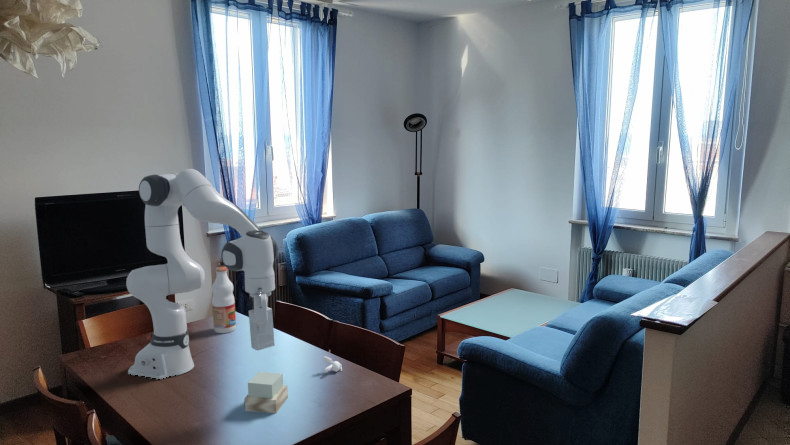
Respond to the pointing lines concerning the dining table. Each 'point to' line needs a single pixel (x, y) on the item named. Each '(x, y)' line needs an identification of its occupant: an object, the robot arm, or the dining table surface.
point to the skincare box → (261, 339)
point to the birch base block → (266, 402)
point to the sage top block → (265, 385)
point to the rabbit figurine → (334, 365)
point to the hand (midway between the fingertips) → (262, 327)
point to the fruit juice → (223, 303)
